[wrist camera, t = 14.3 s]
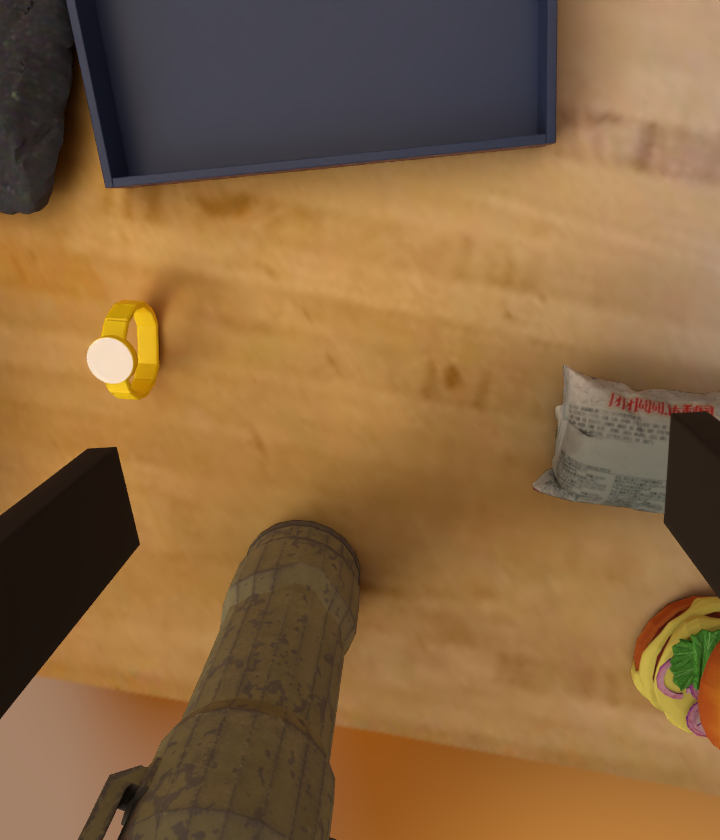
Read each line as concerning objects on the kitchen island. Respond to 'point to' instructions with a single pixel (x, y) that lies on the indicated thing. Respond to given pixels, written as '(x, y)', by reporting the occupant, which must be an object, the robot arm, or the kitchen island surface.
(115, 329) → the watch
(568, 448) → the packaged food
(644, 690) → the cheeseburger
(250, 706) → the thermos
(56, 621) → the robot arm
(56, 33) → the dark slate chunk
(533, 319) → the kitchen island surface
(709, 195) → the kitchen island surface
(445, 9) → the tray
